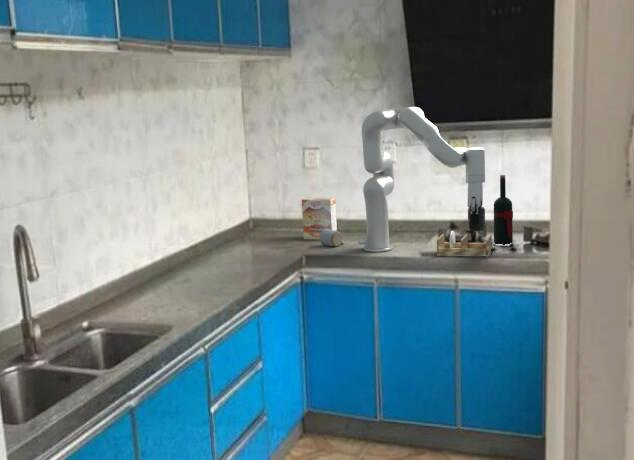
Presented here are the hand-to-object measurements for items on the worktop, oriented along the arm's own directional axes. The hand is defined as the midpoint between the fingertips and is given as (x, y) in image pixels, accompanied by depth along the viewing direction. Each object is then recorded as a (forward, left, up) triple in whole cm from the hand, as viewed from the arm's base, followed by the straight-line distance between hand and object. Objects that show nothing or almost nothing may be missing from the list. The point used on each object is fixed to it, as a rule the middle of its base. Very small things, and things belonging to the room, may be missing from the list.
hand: (476, 222), depth 291 cm
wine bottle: (+9, +18, -13) cm, 24 cm away
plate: (-10, 0, -13) cm, 16 cm away
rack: (-5, 0, -13) cm, 14 cm away
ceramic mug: (-66, +10, -14) cm, 68 cm away
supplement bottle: (0, 0, -3) cm, 3 cm away
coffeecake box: (-78, +25, -13) cm, 83 cm away
